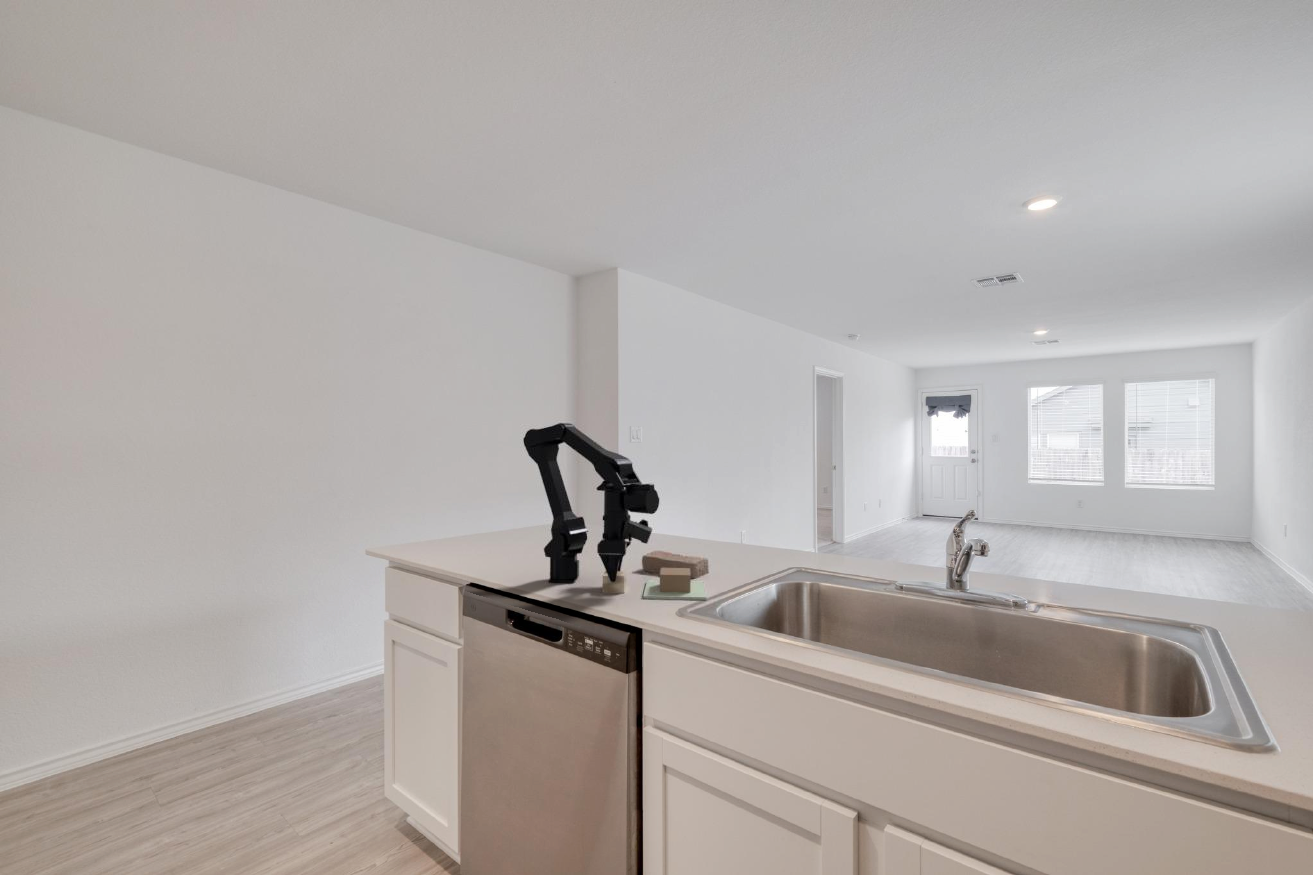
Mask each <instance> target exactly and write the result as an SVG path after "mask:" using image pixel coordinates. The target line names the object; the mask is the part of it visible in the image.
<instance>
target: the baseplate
mask: <svg viewBox="0 0 1313 875" xmlns="http://www.w3.org/2000/svg"><path fill="white" fill-rule="evenodd" d="M691 579H692V578H691V574H690V568H661V571H660V573H659V580H651V579H650V580H646V584H645V588H644V590H643V591H644V592H643V596H642V598H643V599H645V600H647V599H648V600H685V601H686V600H689V601H692V600H693V601H707V592H706V586H705V585H706V584H705V581H699V580H697V581H695V580H693V581H692V580H691Z"/></svg>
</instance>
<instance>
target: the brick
mask: <svg viewBox="0 0 1313 875" xmlns="http://www.w3.org/2000/svg"><path fill="white" fill-rule="evenodd" d="M641 565H642V570H643V571H645V572H649V573H654V574H660V571H661V568H690V574H691V579H699V578H700V577H703V576H705V575H708V574H709V572H710V570H709V566H710V565H709V558H707V557H701V556H700V557H699V556H693V555H692V556H689V555H685V556H684V555H681V554H678V553H673V552H668V551H663V550H652V551H650V552H648V553H646V554H645V555H642V558H641Z"/></svg>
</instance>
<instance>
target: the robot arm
mask: <svg viewBox="0 0 1313 875" xmlns="http://www.w3.org/2000/svg"><path fill="white" fill-rule="evenodd" d="M563 443H565V444H566V445H567V446H568V447H570V448H571V449H573V451H574V452H576V453H577V454H579V455H580V456H582V457H583V458H584V459H585V460H587V461H588V462H590V463H591V465H592V466H593V468H594V471H595V473H596V474H598V475H599V477H600V478H601V479H602V480H603V481H602V482H601V484H598V486H597V487H596V490H597V491H601V492H603V493H604V494H603V497H604V499H603V515H602V521H603V533H602V537H601V538H602V539H601V540H600V541H599V542H598V543H597V550H596V552H597V554H598V556H599V558H600V560H601V563H602V565H603V567H604V569H605V571H606V572H607V574H608V576H609V579H610V581H611V582H615V581H616V577H617V571H621V570H622V565H623V559H624V557H625V556H626V554H627V548H629V546H631V544H632V541H633V539H634V540H637V541H640V542H641V543H643V544H645V545H647V544H648V543H649V540H650V537H651V535H652V532H653V528H652V527H651V526H649V521H648V520H646V519H643V518H642V519H640V521H638V522H637V521H633V520H631V514H630V513H636V514H637V513H638V514H647V515H648V514H649V515H653V514H655V513H656V512H657V511H658V509H659V505H660V497H659V494H658V491H657V490H656V488H655V484H654V483H643V482H642V481H641V480H640V477H639V476H638V474H637V473H636V471H635V469H634V467H633V462H632V460H631V459H630V458H628V457H627V456H624V455H622V454H619V453H617V452H613V451H611V450H608V449H605V448H604V447H603V446H601V445H600V444H599V443H597V442H596V441H595V440H593V439H592V438H590V437H589V436H588V435H586V434H585V433H583V432H582V431H581V430H579V429H578V428H577V427H576V426H575V425H574V424H572V423H570V422H569V423H568V422H558V423H556V424H553V425H551V426H547V427H546V426H545V427H542V428H530V429H529V430H527V431H526V433H525V435H524V437H523V446H524V447H525V451H526V452H527V454H528V456H529V457H530V458H531V459H532V460H533V461H534V463H536V465H537V467H538V469H539V473H540V474H539V475H540V477H541V480H542V484H543V487H544V490H545V491H544V492H545V494H546V497H547V501H548V504H549V507H550V511H551V515H552V523H551V524H552V525H551V529H550V532H551V533H550V534H551V539H550V540H549V542H548V543H547V544H546V545H545V546H544V547H543V552H544V556H545V557H546V558H549V578H548V580H547V582H548V583H568V584H569V583H571V584H572V583H576V581H577V579H578V578H579V577H580V560H579V559H578V555H579V554H582V553H583V551H584V550H583V549H584V547H585V545H586V542H587V541H588V532H589V530H588V529H587V527H586V523H585V518H584V516H577V515H576V514H575V513H574V511H573V510H572V506H571V502H570V499H569V496H568V495H569V494H568V493H567V490H566V489H567V488H566V486H565V483H564V480H563V476H562V473H561V470H560V469H561V468H560V467H559V463H558V454H559V451H560V447H559V445H561V444H563ZM629 512H630V513H629ZM626 540H627V541H626Z"/></svg>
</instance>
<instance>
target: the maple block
mask: <svg viewBox="0 0 1313 875" xmlns="http://www.w3.org/2000/svg"><path fill="white" fill-rule="evenodd" d="M601 586H602V591H601V592H602V593H603V594H604V593H605V594H608V593H609V594H624V593H625V591H626V590H627V570H626V571H625V570H622V571H621V570H620V571H617V577H616V581H615V582H611V581H610V579H609V576H608V574H607V572H606V570H605V571H604V572H603V574H602V584H601Z"/></svg>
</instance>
